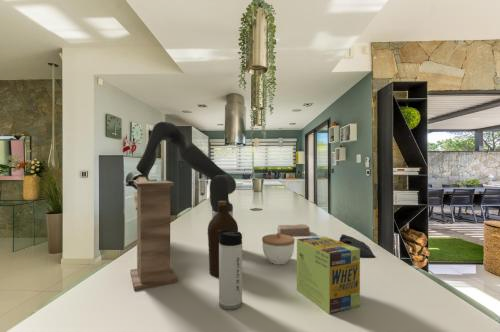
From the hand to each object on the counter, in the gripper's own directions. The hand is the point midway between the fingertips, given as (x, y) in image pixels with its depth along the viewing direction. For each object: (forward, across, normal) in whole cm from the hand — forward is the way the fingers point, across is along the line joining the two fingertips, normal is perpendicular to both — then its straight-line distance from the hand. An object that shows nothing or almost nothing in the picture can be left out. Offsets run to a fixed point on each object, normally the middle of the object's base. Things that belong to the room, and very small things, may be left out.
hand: (143, 184), depth 115 cm
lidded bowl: (+32, +46, +30) cm, 64 cm away
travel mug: (+54, +16, +30) cm, 64 cm away
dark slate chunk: (+34, +84, +30) cm, 96 cm away
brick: (-1, +77, +30) cm, 83 cm away
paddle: (+2, 0, +4) cm, 5 cm away
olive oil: (+33, +23, +30) cm, 50 cm away
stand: (+26, 0, +30) cm, 40 cm away
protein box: (+63, +42, +30) cm, 82 cm away
